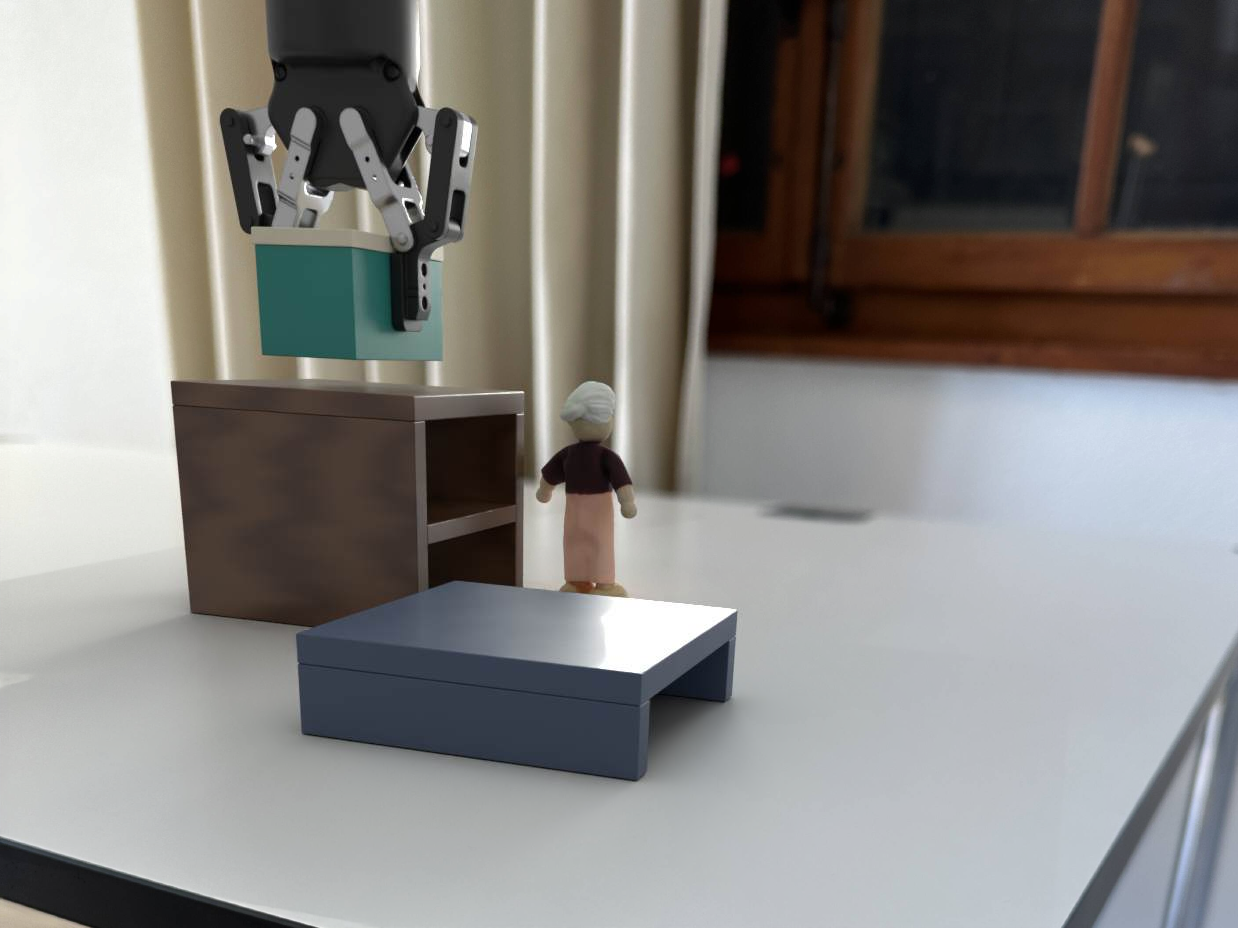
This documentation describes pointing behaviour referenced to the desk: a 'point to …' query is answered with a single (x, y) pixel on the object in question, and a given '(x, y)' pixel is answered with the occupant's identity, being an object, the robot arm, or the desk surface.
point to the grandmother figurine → (589, 492)
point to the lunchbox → (337, 296)
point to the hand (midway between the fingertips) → (354, 327)
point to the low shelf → (513, 674)
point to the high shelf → (344, 493)
